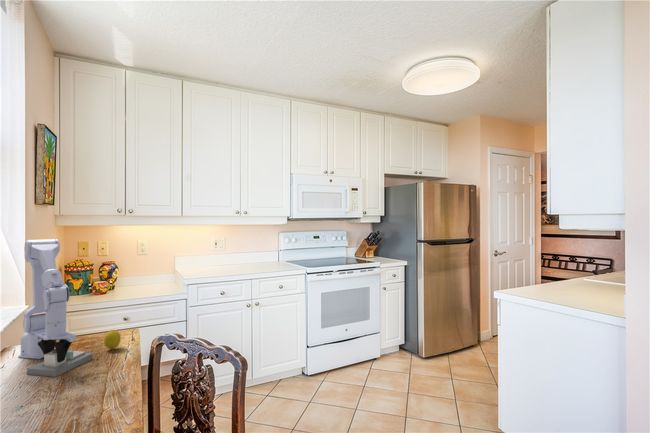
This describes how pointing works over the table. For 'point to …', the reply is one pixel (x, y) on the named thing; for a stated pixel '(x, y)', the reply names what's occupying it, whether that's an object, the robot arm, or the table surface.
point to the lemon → (112, 339)
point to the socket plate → (58, 370)
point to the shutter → (74, 354)
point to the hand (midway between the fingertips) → (55, 360)
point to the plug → (52, 359)
